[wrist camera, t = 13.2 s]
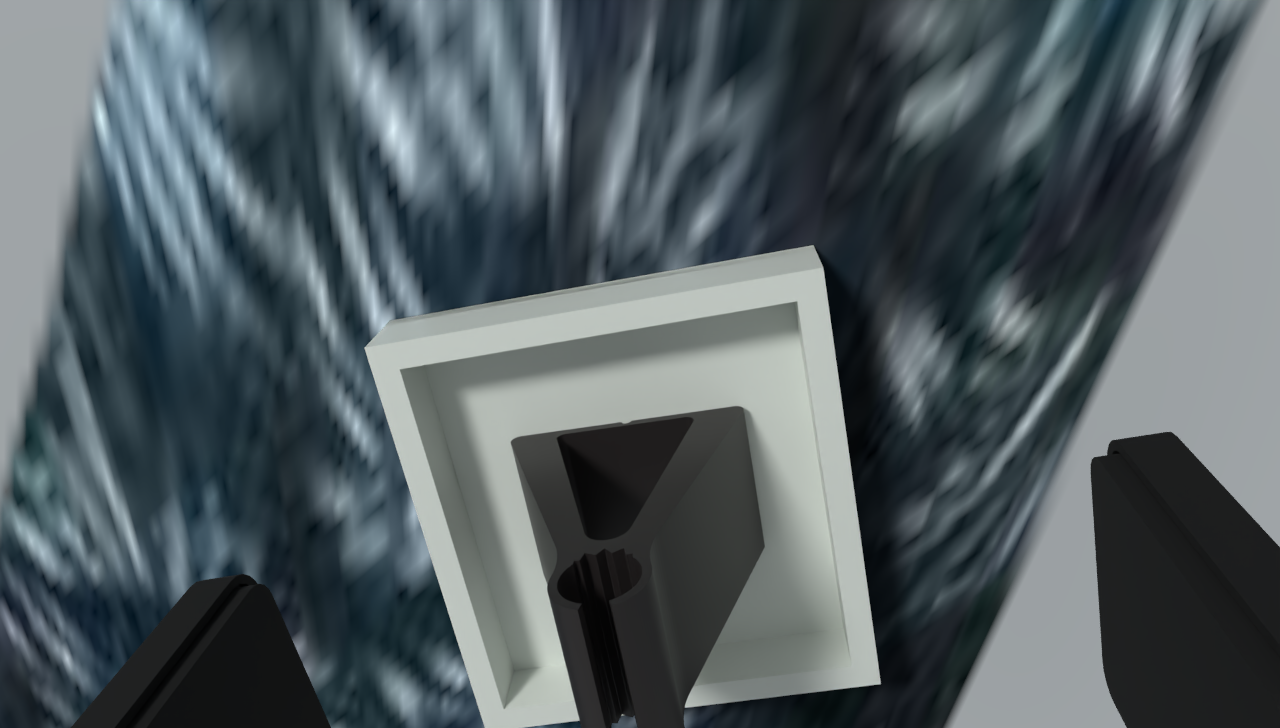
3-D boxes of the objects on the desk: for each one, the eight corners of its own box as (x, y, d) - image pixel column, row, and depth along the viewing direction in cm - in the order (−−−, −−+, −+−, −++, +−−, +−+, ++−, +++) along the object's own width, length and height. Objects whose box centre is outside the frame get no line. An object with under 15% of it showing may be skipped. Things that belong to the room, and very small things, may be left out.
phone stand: (744, 404, 36) (764, 587, 25) (764, 542, 38) (790, 767, 27) (512, 435, 37) (432, 625, 26) (544, 568, 40) (482, 795, 28)
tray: (813, 244, 35) (823, 267, 32) (868, 636, 40) (880, 684, 38) (389, 320, 37) (364, 347, 34) (500, 683, 42) (486, 731, 40)
